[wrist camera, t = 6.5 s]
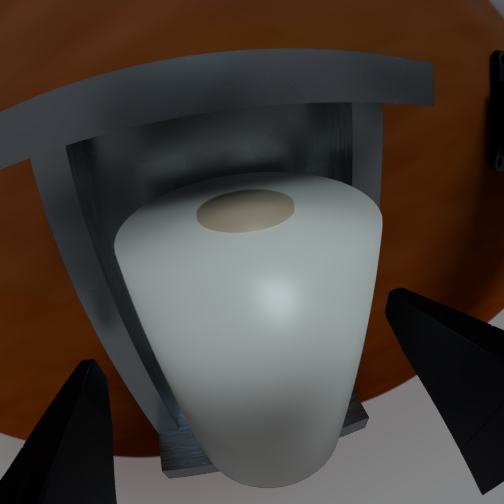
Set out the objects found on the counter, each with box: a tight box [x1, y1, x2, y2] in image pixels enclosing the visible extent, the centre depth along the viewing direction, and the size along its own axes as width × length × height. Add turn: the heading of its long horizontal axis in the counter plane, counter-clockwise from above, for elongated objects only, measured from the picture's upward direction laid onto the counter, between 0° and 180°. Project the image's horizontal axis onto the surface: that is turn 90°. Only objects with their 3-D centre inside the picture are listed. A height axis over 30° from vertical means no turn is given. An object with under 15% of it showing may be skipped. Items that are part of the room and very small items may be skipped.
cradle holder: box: [0, 49, 434, 478], centre depth 10 cm, size 9×14×4 cm, turn 6°
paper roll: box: [114, 172, 382, 488], centre depth 9 cm, size 9×6×6 cm, turn 6°
